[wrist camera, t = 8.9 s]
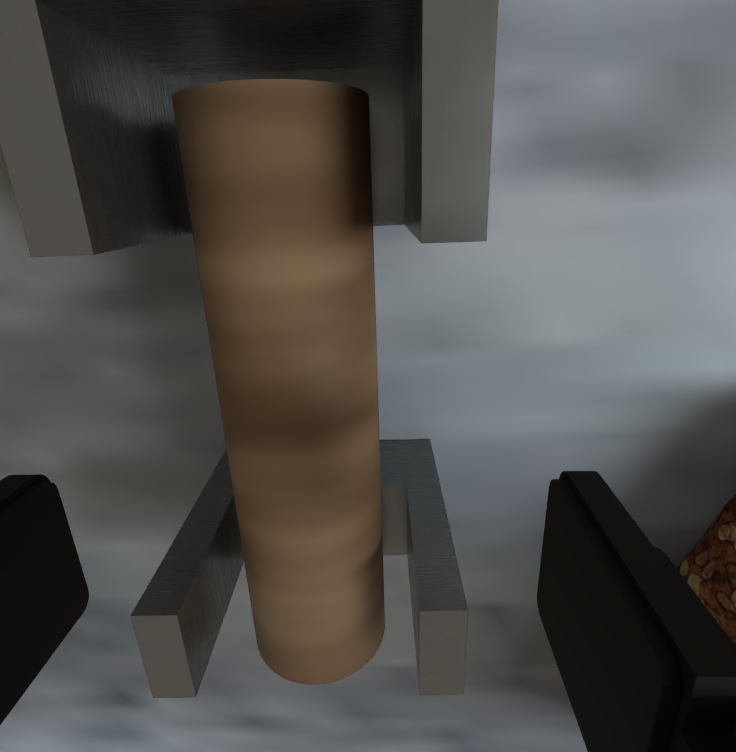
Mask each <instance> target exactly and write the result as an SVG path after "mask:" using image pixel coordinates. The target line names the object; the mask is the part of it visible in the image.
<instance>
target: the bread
mask: <svg viewBox="0 0 736 752" xmlns="http://www.w3.org/2000/svg"><path fill="white" fill-rule="evenodd" d="M679 573H680V574H681V575H682V576H683V578H684V579H685V580H686V582H687V583H688V584H689V586H690V587H691V588H692V590H693V591H694V592H695V593H696V595H697V596H698V597H699V599H700V600H701V601H702V603H703V604H704V605H705V607H706V608H707V609H708V610H709V612H710V613H711V614H712V616H713V617H714V618H715V620H716V621H717V622H718V624H719V625H720V626H721V627H722V629H723V630H724V631H725V633H726V634H727V635H728V637H729V638H730V639H731V641H732V642H733V643H734V644H735V646H736V495H735V496H734V497H733V498H732V499H731V500H730V501H729V502H728V503H727V504H726V505H725V507H724V509H723V512H722V514H721V517H720V520H718V521H717V522H715V523H714V524H712V525H711V528H710V530H709V532H708V533H707V534H706V535H705V536H704V537H703V538H702V539H701V540H700V541H699V542H698V544H697V545H696V548H695V550H694V551H692V552H691V553H690V554H689V555H687V556H686V558H685V559H684V561H683V563H682V565H681V567H680V569H679Z"/></svg>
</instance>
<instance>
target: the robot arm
mask: <svg viewBox="0 0 736 752" xmlns="http://www.w3.org/2000/svg"><path fill="white" fill-rule="evenodd" d="M88 599H89V592H88V587H87V584H86V581H85V577H84V574H83V571H82V567H81V564H80V561H79V557H78V554H77V551H76V547H75V544H74V541H73V537H72V534H71V531H70V527H69V524H68V521H67V517H66V514H65V511H64V507H63V504H62V501H61V498H60V494H59V491H58V488H57V486H56V485H55V484H54V483H51V482H50V480H49V479H48V478H47V477H46V476H44V475H9V476H7V477H5V478H3V479H2V480H1V481H0V725H1V723H2V722H3V721H4V719H5V718H6V717H7V715H8V714H9V712H10V711H11V710H12V708H13V707H14V706H15V704H16V703H17V702H18V700H19V699H20V698H21V696H22V695H23V693H24V692H25V691H26V689H27V688H28V687H29V685H30V684H31V683H32V681H33V680H34V679H35V677H36V676H37V675H38V673H39V672H40V670H41V669H42V668H43V666H44V665H45V664H46V662H47V661H48V660H49V658H50V657H51V656H52V654H53V653H54V651H55V650H56V649H57V647H58V646H59V645H60V643H61V642H62V641H63V639H64V638H65V637H66V635H67V634H68V633H69V631H70V630H71V628H72V627H73V626H74V624H75V623H76V622H77V620H78V619H79V618H80V616H81V615H82V614H83V612H84V610H85V609H86V606H87V603H88ZM537 603H538V609H539V614H540V617H541V620H542V623H543V626H544V629H545V632H546V634H547V637H548V640H549V643H550V646H551V648H552V651H553V654H554V657H555V660H556V663H557V665H558V668H559V671H560V674H561V677H562V680H563V682H564V685H565V688H566V691H567V694H568V696H569V699H570V702H571V705H572V708H573V711H574V713H575V716H576V719H577V722H578V725H579V728H580V730H581V733H582V736H583V739H584V742H585V745H586V747H587V750H588V752H736V646H735V644H734V643H733V642H732V641H731V639H730V638H729V637H728V635H727V634H726V633H725V631H724V630H723V629H722V627H721V626H720V625H719V624H718V622H717V621H716V620H715V618H714V617H713V616H712V614H711V613H710V612H709V610H708V609H707V608H706V607H705V605H704V604H703V603H702V601H701V600H700V599H699V597H698V596H697V595H696V593H695V592H694V591H693V590H692V588H691V587H690V586H689V584H688V583H687V582H686V580H685V579H684V578H683V576H682V575H681V574H680V573H679V571H678V570H677V569H676V567H675V566H674V565H673V563H672V562H671V561H670V559H669V558H668V557H667V556H666V555H665V554H664V553H663V552H662V551H661V550H660V549H659V548H656V547H654V546H653V545H652V544H651V543H650V541H649V540H648V539H647V537H646V536H645V535H644V533H643V532H642V531H641V529H640V528H639V527H638V525H637V524H636V523H635V521H634V520H633V519H632V517H631V516H630V515H629V513H628V512H627V511H626V509H625V508H624V507H623V505H622V504H621V503H620V501H619V500H618V499H617V497H616V496H615V495H614V493H613V492H612V491H611V489H610V488H609V487H608V485H607V484H606V482H605V481H604V480H603V478H602V477H601V476H600V475H599V474H598V473H597V472H595V471H563V472H562V473H561V475H560V478H559V479H553V480H551V482H550V485H549V493H548V502H547V511H546V520H545V529H544V538H543V547H542V556H541V565H540V574H539V583H538V592H537Z"/></svg>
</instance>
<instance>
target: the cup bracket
mask: <svg viewBox="0 0 736 752" xmlns="http://www.w3.org/2000/svg"><path fill="white" fill-rule="evenodd" d="M497 19H498V0H0V145H1V148H2V152H3V156H4V159H5V163H6V166H7V170H8V174H9V177H10V181H11V185H12V188H13V192H14V195H15V199H16V203H17V206H18V210H19V214H20V217H21V221H22V224H23V228H24V232H25V235H26V239H27V243H28V246H29V250H30V253H31V257H43V256H72V255H95V254H99V253H104V252H108V251H113V250H117V249H122V248H126V247H130V246H135V245H139V244H144V243H148V242H153V241H157V240H162V239H166V238H171V237H175V236H179V235H184V234H188V233H193V231H192V224H191V218H190V212H189V205H188V199H187V193H186V186H185V180H184V173H183V167H182V161H181V154H180V148H179V142H178V135H177V129H176V122H175V116H174V110H173V103H172V95H173V94H174V93H176V92H177V91H179V90H182V89H185V88H188V87H192V86H196V85H201V84H207V83H214V82H222V81H233V80H249V79H298V80H314V81H324V82H332V83H339V84H344V85H349V86H353V87H356V88H359V89H362V90H364V91H365V92H367V93H368V94H369V110H370V144H371V177H372V211H373V226H379V225H406V227H407V228H408V229H409V230H410V231H411V232H412V233H413V234H414V235H415V237H416V238H417V239H418V240H419V241H420V242H421V243H445V242H474V241H486V239H487V219H488V199H489V179H490V159H491V139H492V119H493V99H494V79H495V59H496V39H497Z"/></svg>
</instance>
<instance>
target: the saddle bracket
mask: <svg viewBox="0 0 736 752" xmlns="http://www.w3.org/2000/svg"><path fill="white" fill-rule="evenodd" d="M379 446H380V479H381V513H382V547H383V555H401V554H407V557H408V568H409V580H410V591H411V602H412V613H413V624H414V636H415V647H416V658H417V669H418V680H419V692H420V695H442V694H464V679H465V659H466V639H467V619H468V609H467V604H466V600H465V595H464V591H463V586H462V582H461V577H460V573H459V568H458V564H457V559H456V555H455V550H454V546H453V541H452V537H451V532H450V528H449V523H448V519H447V514H446V510H445V505H444V501H443V496H442V492H441V487H440V483H439V478H438V474H437V469H436V465H435V460H434V456H433V451H432V447H431V442H430V440H392V441H379ZM243 563H244V556H243V549H242V543H241V537H240V530H239V524H238V517H237V511H236V505H235V498H234V492H233V486H232V479H231V473H230V466H229V460H228V454H227V449H226V451H225V453H224V455H223V456H222V458H221V460H220V461H219V463H218V465H217V467H216V468H215V470H214V472H213V474H212V475H211V477H210V479H209V481H208V482H207V484H206V486H205V488H204V489H203V491H202V493H201V494H200V496H199V498H198V500H197V501H196V503H195V505H194V507H193V508H192V510H191V512H190V514H189V515H188V517H187V519H186V521H185V522H184V524H183V526H182V527H181V529H180V531H179V533H178V534H177V536H176V538H175V540H174V541H173V543H172V545H171V547H170V548H169V550H168V552H167V553H166V555H165V557H164V559H163V560H162V562H161V564H160V566H159V567H158V569H157V571H156V573H155V574H154V576H153V578H152V580H151V581H150V583H149V585H148V586H147V588H146V590H145V592H144V593H143V595H142V597H141V599H140V600H139V602H138V604H137V606H136V607H135V609H134V611H133V613H132V614H131V620H132V623H133V627H134V631H135V634H136V638H137V641H138V645H139V649H140V652H141V656H142V660H143V663H144V667H145V670H146V674H147V678H148V681H149V685H150V689H151V692H152V696H153V698H184V697H196V695H197V693H198V690H199V687H200V684H201V681H202V678H203V676H204V673H205V670H206V667H207V664H208V662H209V659H210V656H211V653H212V650H213V647H214V645H215V642H216V639H217V636H218V633H219V630H220V628H221V625H222V622H223V619H224V616H225V614H226V611H227V608H228V605H229V602H230V599H231V597H232V594H233V591H234V588H235V585H236V582H237V580H238V577H239V574H240V571H241V568H242V566H243Z"/></svg>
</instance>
